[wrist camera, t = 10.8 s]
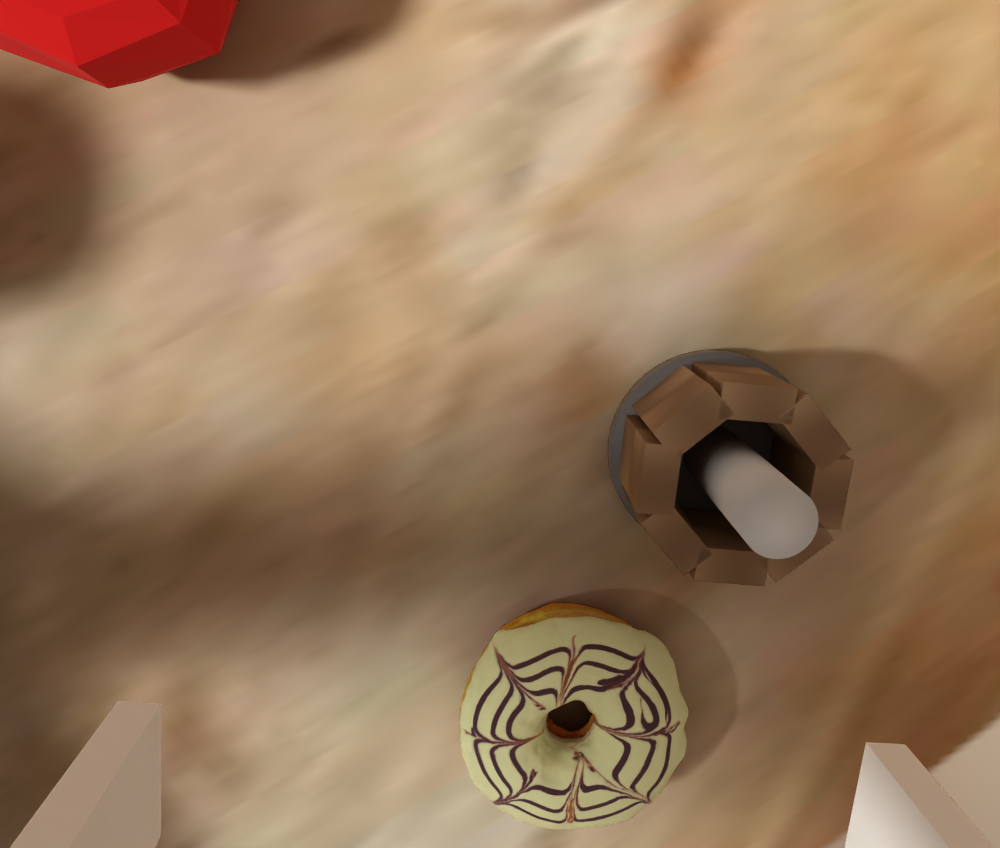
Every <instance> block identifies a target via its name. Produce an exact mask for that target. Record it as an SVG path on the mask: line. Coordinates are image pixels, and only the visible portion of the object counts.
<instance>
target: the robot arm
mask: <svg viewBox="0 0 1000 848" xmlns="http://www.w3.org/2000/svg"><path fill="white" fill-rule="evenodd" d="M160 837H161V703H150V702H131V701H117V703H116V704H115V705H114V707H113V708H112V710H111V711H110V712H109V714H108V715H107V716H106V718H105V719H104V720H103V722H102V723H101V724H100V726H99V727H98V729H97V730H96V731H95V733H94V734H93V735H92V737H91V738H90V739H89V741H88V742H87V743H86V745H85V746H84V748H83V749H82V750H81V752H80V753H79V754H78V756H77V757H76V758H75V760H74V761H73V762H72V764H71V765H70V767H69V768H68V769H67V771H66V772H65V773H64V775H63V776H62V777H61V779H60V780H59V781H58V783H57V784H56V785H55V787H54V788H53V790H52V791H51V792H50V794H49V795H48V796H47V798H46V799H45V800H44V802H43V803H42V804H41V806H40V807H39V809H38V810H37V811H36V813H35V814H34V815H33V817H32V818H31V819H30V821H29V822H28V823H27V825H26V826H25V828H24V829H23V830H22V832H21V833H20V834H19V836H18V837H17V838H16V840H15V841H14V842H13V844H12V845H11V847H10V848H155V847H156V845H157V843H158V841H159V839H160ZM845 848H994V847H993V846H992V845H991V844H990V842H989V841H988V840H987V839H986V838H985V837H984V835H983V834H982V833H981V832H980V831H979V830H978V828H977V827H976V826H975V825H974V824H973V823H972V822H971V820H970V819H969V818H968V817H967V816H966V815H965V813H964V812H963V811H962V810H961V809H960V808H959V806H958V805H957V804H956V803H955V802H954V801H953V799H952V798H951V797H950V796H949V795H948V794H947V792H946V791H945V790H944V789H943V788H942V787H941V785H940V784H939V783H938V782H937V781H936V780H935V779H934V777H933V776H932V775H931V774H930V773H929V772H928V770H927V769H926V768H925V767H924V766H923V765H922V763H921V762H920V761H919V760H918V759H917V758H916V756H915V755H914V754H913V753H912V752H911V751H910V749H909V748H908V747H907V746H906V745H905V744H890V743H872V742H866V745H865V750H864V755H863V760H862V765H861V769H860V774H859V779H858V784H857V789H856V794H855V799H854V804H853V809H852V814H851V819H850V823H849V828H848V833H847V838H846V843H845Z"/></svg>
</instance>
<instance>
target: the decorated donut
mask: <svg viewBox="0 0 1000 848" xmlns="http://www.w3.org/2000/svg"><path fill="white" fill-rule="evenodd" d="M573 700H581V701H582V702H584V703H585V705H586V706H587V709H588V710H589V711H590V712H591V713H593V714H592V716H591V718H590V721H589V722H588V723H587V724H586V725H585V726H584V727H582V728H581V729H579V730H575V731H568V730H566V729H563V728H561V727H559V726H556V725H554V724H553V722H552V721H553V720H552V719H551V720H550V719H549V716H548V713H549V712H550V711H551V710H553V709H556V708H558V707H560V706H562V705H564V704H566V703H568V702H570V701H573ZM688 714H689V712H688V707H687V704H686V702H685V700H684V698H683V696H682V694H681V692H680V688H679V683H678V678H677V674H676V668H675V664H674V661H673V659H672V658H671V656H670V654H669V651H668V649H667V648H666V646H665V645H664V644H663V643H662V642H661V641H660V640H659V639H658V638H657V637H655V636H654V635H652V634H650V633H649V632H647V631H643V630H637V629H636V628H635V627H633V626H631V625H630V624H629V623H628V622H625V621H623V620H621V619H620V618H617V617H615V616H613V615H611V614H608V613H607V612H605V611H601V610H599V609H596V608H593V607H589V606H586V605H580V604H574V603H565V604H563V603H550V604H547V605H545V606H543V607H542V608H540V609H537V610H533V611H530V612H527V613H525V614H523V615H521V616H519V617H516V618H515V619H514V620H512V621H511V622H509V623H507V624H505V625H503V626H502V627H501V628H500V629H499V631H497V632H496V633H495V634H494V636H493V637H492V640H491V641H490V643H489V644H488V646H487V647H486V649H485V650H484V651H483V653H482V655H481V657H480V659H479V660H478V662H477V664H476V665H475V667H474V668H473V670H472V672H471V674H470V676H469V678H468V681H467V683H466V686H465V689H464V693H463V695H462V701H461V708H460V738H461V749H462V755H463V758H464V760H465V763H466V766H467V768H468V772H469V775H470V777H471V779H472V780H473V782H474V783H475V785H476V786H477V787H478V789H479V790H480V791H481V792H483V793H484V794H485V795H486V796H487V797H488V798H489V799H490V800H491V801H492V802H493V803H494V804H495V805H496V806H497V807H498V808H500V809H501V810H503V811H504V812H505V813H508V814H509V815H511V816H512V817H513V818H514V819H516V820H519V821H522V822H524V823H527V824H531V825H535V826H539V827H543V828H546V829H576V828H589V827H602V826H608V825H611V824H616V823H620V822H623V821H625V820H628V819H630V818H632V817H633V816H634V815H636V814H637V813H638V812H639V811H640V810H641V809H642V808H644V807H645V806H646V805H648V804H650V803H651V802H653V800H654V799H655V798H656V797H657V796H658V795H659V794H660V793H661V791H662V790H663V788H664V787H665V785H666V784H667V782H668V781H669V779H670V778H671V775H672V774H673V772H674V770H675V769H676V767H677V766H678V764H679V763H680V762H681V760H682V759H683V758H684V756H685V752H686V746H687V738H686V734H685V728H684V725H685V723H686V720H687V718H688Z"/></svg>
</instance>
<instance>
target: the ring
mask: <svg viewBox="0 0 1000 848" xmlns="http://www.w3.org/2000/svg"><path fill="white" fill-rule="evenodd" d="M631 406H632V407H633V408H634V410H635V411H636V412H637V413H638V415H639V416H632V415H626V418H625V426H624V434H623V442H622V450H621V458H620V466H619V474H618V477H619V479H620V481H621V483H622V488H623V490H624V492H625V494H626V496H627V498H628V500H629V502H630V504H631V506H632V508H633V510H634V512H635V514H636V516H637V518H638V520H639V522H640V524H641V525H642V526H643V528H644V529H645V530H646V531H647V532H648V534H649V535H650V536H651V537H652V538H653V539H654V541H655V542H656V543H657V544H658V545H659V547H660V548H661V549H662V550H663V551H664V552H665V554H666V555H667V556H668V557H669V558H670V560H671V561H672V562H673V563H674V564H675V565H676V567H677V568H678V569H679V570H680V571H681V573H682V574H683V575H685V574H687V573H688V572H690V574H691V576H692V578H693V579H694V581H704V582H717V583H730V584H742V585H755V586H764V584H765V579H766V573H768V574H769V575H770V576H771V578H772V579H773V580H774V581H775V582H777V581H779V580H780V579H781V578H783V577H784V576H785V575H787V574H788V573H790V572H791V571H792V570H794V569H795V568H796V567H798V566H799V565H800V564H802V563H803V562H804V561H806V560H807V559H808V558H810V557H811V556H812V555H814V554H815V553H816V552H818V551H819V550H821V549H822V548H823V547H825V546H826V545H827V544H829V543H830V542H831V541H833V540H834V539H833V538H832V537H831V535H830V534H829V533H828V532H827V530H826V529H825V528H827V529H841V524H842V519H843V513H844V508H845V503H846V497H847V492H848V487H849V482H850V476H851V471H852V466H853V460H852V459H850V458H849V457H847V456H846V455H844V454H845V453H847V452H848V451H849V450H850V448H849V446H848V445H847V444H846V442H845V441H844V440H843V438H842V437H841V436H840V435H839V433H838V432H837V431H836V429H835V428H834V427H833V425H832V424H831V423H830V422H829V420H828V419H827V418H826V416H825V415H824V414H823V412H822V411H821V410H820V409H819V407H818V406H817V405H816V403H815V402H814V401H813V399H812V398H811V397H810V395H809V394H807V393H805V392H803V391H802V390H800V389H798V388H796V387H794V386H792V385H791V384H789V383H787V382H785V381H783V380H781V379H779V378H777V377H775V376H773V375H772V374H770V373H768V372H766V371H764V370H762V369H760V368H758V367H753V366H741V365H730V364H718V363H706V362H695V361H693V364H692V371H690V370H689V369H688V368H686V367H685V366H683V365H681V366H680V367H679V368H678V369H676V370H675V371H674V372H673V373H671V374H670V375H669V376H668V377H666V378H665V379H664V380H663V381H661V382H660V383H659V384H658V385H656V386H655V387H654V388H653V389H651V390H650V391H649V392H648V393H646V394H645V395H644V396H643V397H641V398H640V399H639V400H638V401H636V402H635V403H634V404H633V405H631ZM727 419H731V420H743V421H755V422H764V423H765V425H766V426H767V427H768V428H769V430H770V431H771V432H772V433H773V440H772V446H771V452H770V459H769V463H770V464H771V465H772V466H773V467H775V468H776V469H777V470H778V471H779V472H780V473H782V474H783V475H784V476H785V477H786V478H788V479H789V480H790V481H791V482H792V483H793V484H795V485H796V486H797V487H798V488H799V489H801V490H802V491H803V492H804V493H805V494H806V495H808V496H809V497H810V498H811V500H812V501H813V502H814V504H815V506H816V509H817V512H818V520H819V521H818V528H817V532H816V534H815V536H814V538H813V540H812V541H811V543H810V544H809V545H808V546H807V547H806V548H805V549H804V550H803V551H801V552H800V553H798V554H796V555H794V556H792V557H789V558H784V559H770V558H766V557H763V556H761V555H759V554H757V553H756V552H755V551H753V550H752V549H751V548H750V547H749V545H748V544H747V543H746V542H745V541H744V539H743V538H742V537H741V536H740V534H739V533H738V532H737V531H736V529H735V528H734V527H733V526H732V525H731V523H730V522H729V521H728V520H727V518H726V517H725V516H724V515H723V513H722V512H721V511H720V510H710V509H698V508H685V507H679V506H678V504H677V503H676V502H675V499H676V492H677V485H678V477H679V470H680V463H681V456H682V454H683V453H685V452H686V451H687V450H688V449H690V448H691V447H692V446H694V445H695V444H696V443H697V442H699V441H700V440H701V439H703V438H704V437H705V436H706V435H708V434H709V433H710V432H712V431H713V430H714V429H715V428H717V427H718V426H719V425H720V424H722V423H723V422H724V421H726V420H727Z"/></svg>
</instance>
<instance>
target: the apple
mask: <svg viewBox="0 0 1000 848" xmlns="http://www.w3.org/2000/svg"><path fill="white" fill-rule="evenodd" d="M238 1H239V0H0V49H2V50H4V51H7V52H10V53H13V54H15V55H18V56H21V57H24V58H26V59H29V60H32V61H35V62H38V63H40V64H43V65H46V66H49V67H51V68H54V69H57V70H60V71H62V72H65V73H68V74H71V75H73V76H76V77H79V78H82V79H84V80H87V81H90V82H93V83H95V84H98V85H101V86H104V87H106V88H113V87H117V86H122V85H126V84H131V83H136V82H140V81H144V80H146V79H149V78H152V77H155V76H158V75H160V74H163V73H166V72H169V71H171V70H174V69H177V68H180V67H182V66H185V65H188V64H191V63H194V62H196V61H199V60H202V59H205V58H207V57H210V56H213V55H216V54H219V52H220V51H221V49H222V47H223V45H224V42H225V39H226V36H227V33H228V30H229V27H230V24H231V22H232V19H233V16H234V13H235V10H236V7H237V4H238Z"/></svg>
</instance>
